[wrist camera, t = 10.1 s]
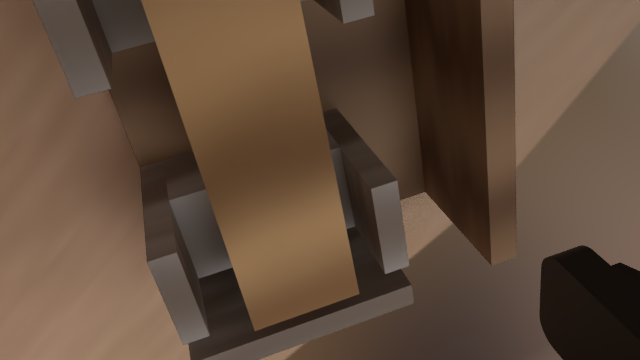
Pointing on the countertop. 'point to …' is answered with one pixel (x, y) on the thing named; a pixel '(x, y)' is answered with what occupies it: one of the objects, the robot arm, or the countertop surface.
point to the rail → (259, 148)
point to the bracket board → (390, 103)
